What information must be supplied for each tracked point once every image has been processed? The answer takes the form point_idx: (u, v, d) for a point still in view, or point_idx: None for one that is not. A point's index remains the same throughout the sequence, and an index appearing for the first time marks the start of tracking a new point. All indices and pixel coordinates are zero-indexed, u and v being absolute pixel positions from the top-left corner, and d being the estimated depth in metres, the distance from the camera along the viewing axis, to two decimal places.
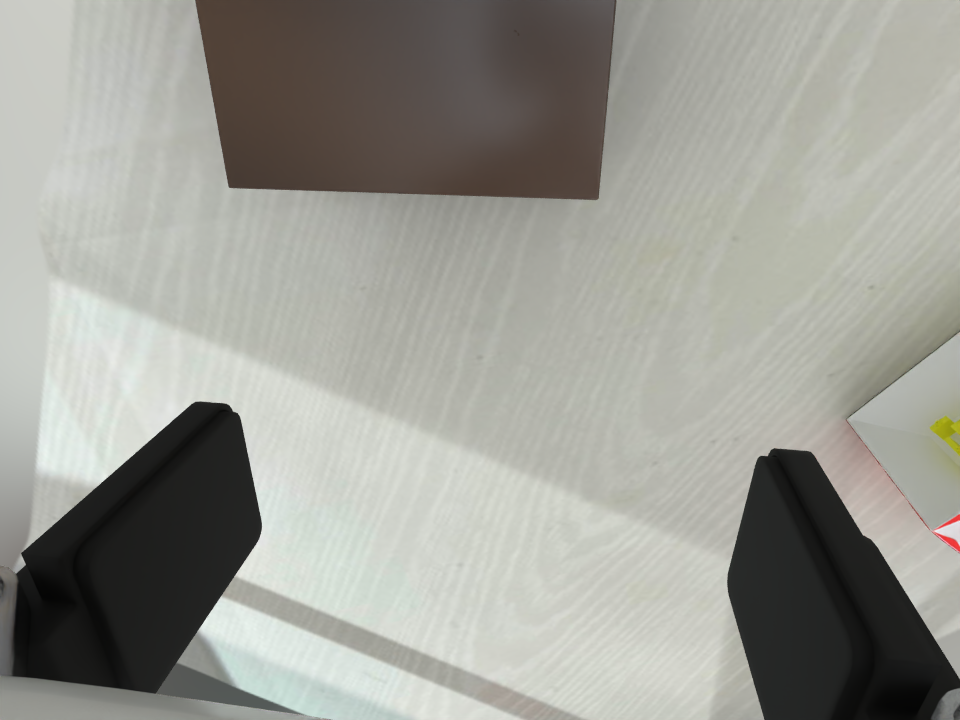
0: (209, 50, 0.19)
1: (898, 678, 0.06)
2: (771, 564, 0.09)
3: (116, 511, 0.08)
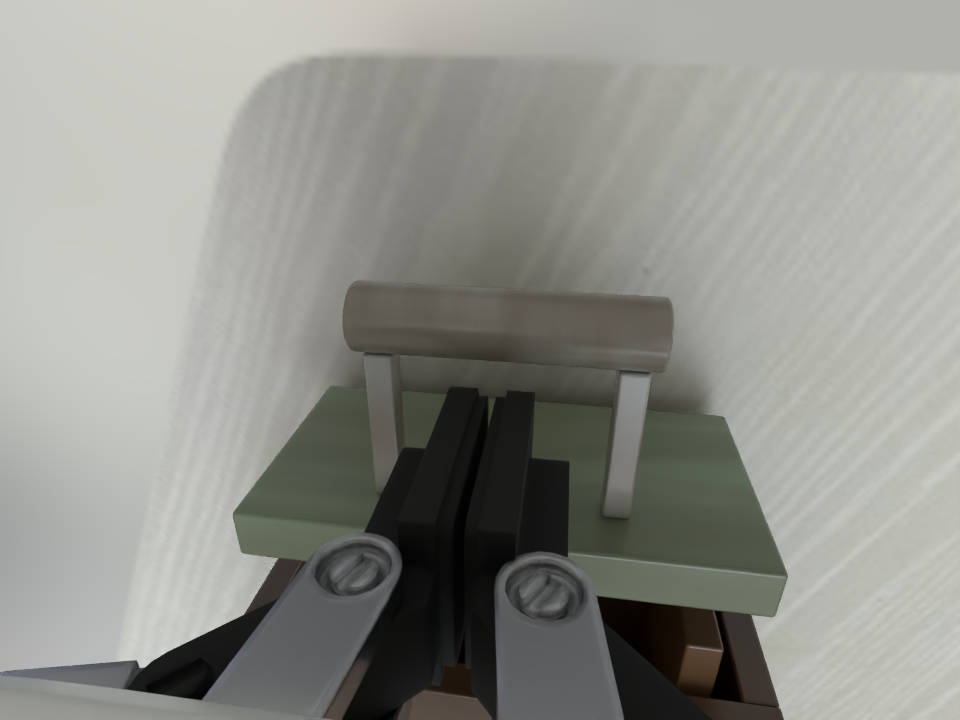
0: None
1: (490, 546, 0.08)
2: None
3: (450, 484, 0.09)
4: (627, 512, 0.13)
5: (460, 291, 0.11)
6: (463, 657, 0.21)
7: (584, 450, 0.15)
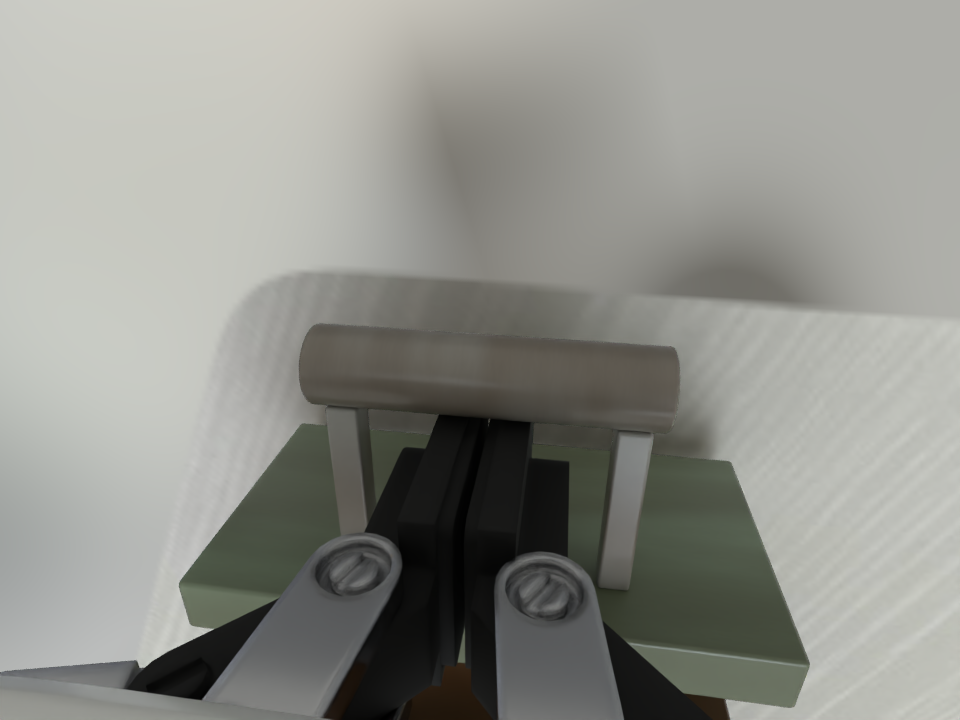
0: None
1: (490, 546, 0.08)
2: None
3: (450, 484, 0.09)
4: (625, 583, 0.11)
5: (434, 338, 0.10)
6: (447, 712, 0.19)
7: (577, 503, 0.13)
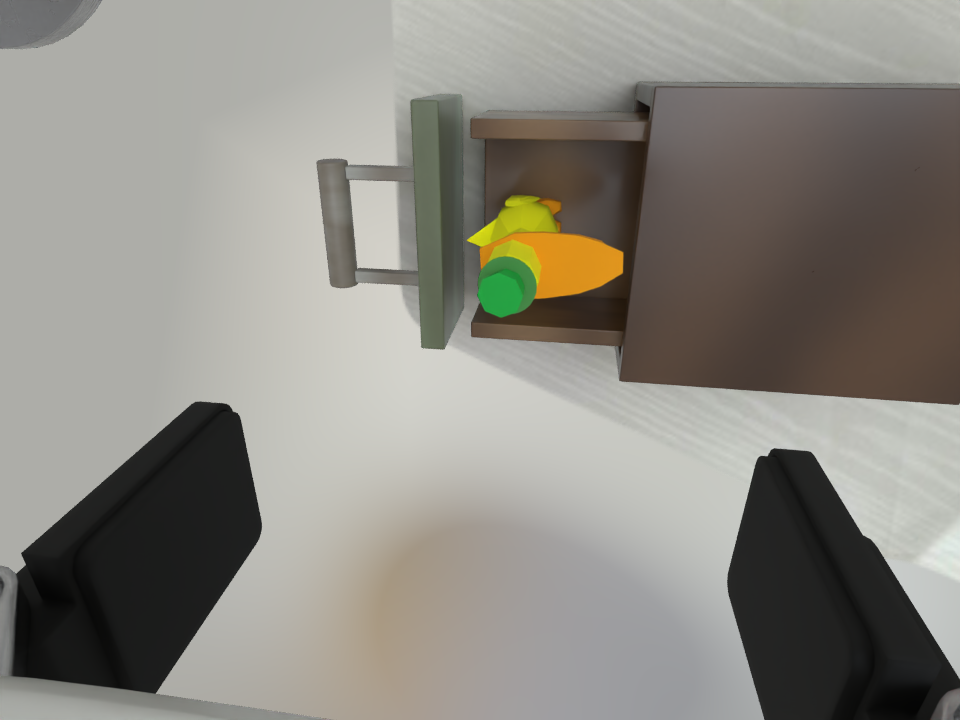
0: (857, 394, 0.27)
1: (898, 678, 0.06)
2: (771, 564, 0.09)
3: (116, 511, 0.08)
4: (414, 170, 0.27)
5: None
6: (628, 249, 0.31)
7: None
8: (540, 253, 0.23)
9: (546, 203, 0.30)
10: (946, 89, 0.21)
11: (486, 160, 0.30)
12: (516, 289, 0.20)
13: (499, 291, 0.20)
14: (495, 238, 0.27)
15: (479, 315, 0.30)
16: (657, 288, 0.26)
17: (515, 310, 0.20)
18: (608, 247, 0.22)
